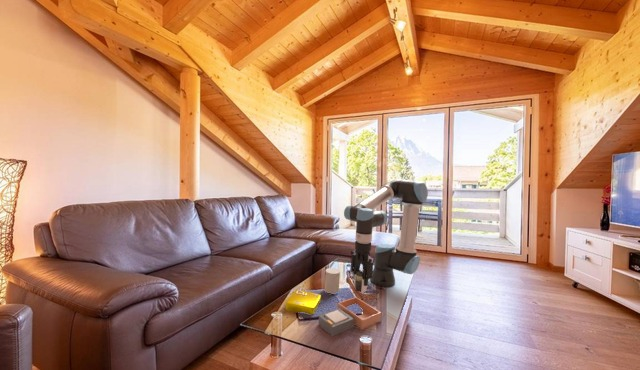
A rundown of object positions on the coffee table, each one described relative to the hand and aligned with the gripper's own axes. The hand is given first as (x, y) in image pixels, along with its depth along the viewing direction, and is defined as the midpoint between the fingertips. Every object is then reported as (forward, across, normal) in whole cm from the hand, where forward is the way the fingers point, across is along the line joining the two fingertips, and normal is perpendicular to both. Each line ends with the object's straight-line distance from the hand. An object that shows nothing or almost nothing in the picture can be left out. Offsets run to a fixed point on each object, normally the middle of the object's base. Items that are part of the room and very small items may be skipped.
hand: (360, 289), depth 133 cm
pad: (+12, 0, -14) cm, 18 cm away
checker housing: (+14, 0, -14) cm, 20 cm away
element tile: (+14, -22, -17) cm, 31 cm away
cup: (+14, -27, +5) cm, 31 cm away
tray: (+14, 0, 0) cm, 14 cm away
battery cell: (0, 0, 0) cm, 0 cm away
